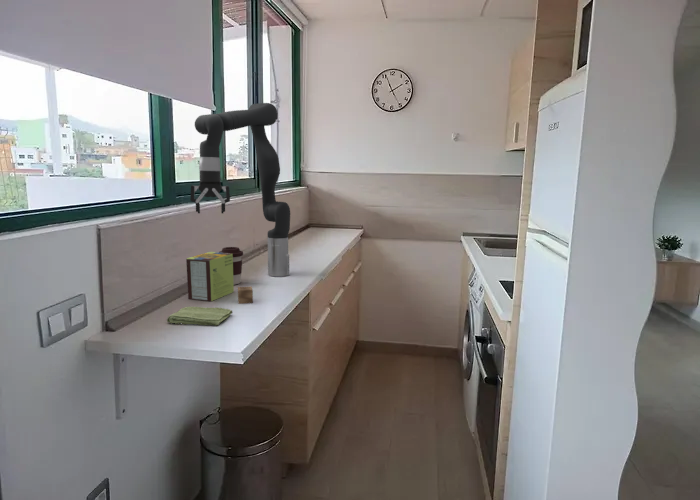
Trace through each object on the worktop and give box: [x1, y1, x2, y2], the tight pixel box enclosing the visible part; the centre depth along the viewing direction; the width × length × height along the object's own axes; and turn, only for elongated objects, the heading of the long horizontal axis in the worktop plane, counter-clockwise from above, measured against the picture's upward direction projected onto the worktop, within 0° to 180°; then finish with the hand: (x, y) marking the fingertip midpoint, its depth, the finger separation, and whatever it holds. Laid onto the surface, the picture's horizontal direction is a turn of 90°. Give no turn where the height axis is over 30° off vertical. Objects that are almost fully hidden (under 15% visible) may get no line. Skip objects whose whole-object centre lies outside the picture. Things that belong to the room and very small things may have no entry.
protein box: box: [185, 251, 235, 302], centre depth 189 cm, size 10×15×16 cm
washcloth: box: [166, 306, 233, 327], centre depth 161 cm, size 13×18×3 cm
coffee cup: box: [218, 246, 244, 285], centre depth 208 cm, size 10×10×15 cm
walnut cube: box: [237, 286, 254, 305], centre depth 182 cm, size 5×5×5 cm
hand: (210, 213), depth 188 cm, fingers open, 8 cm apart
